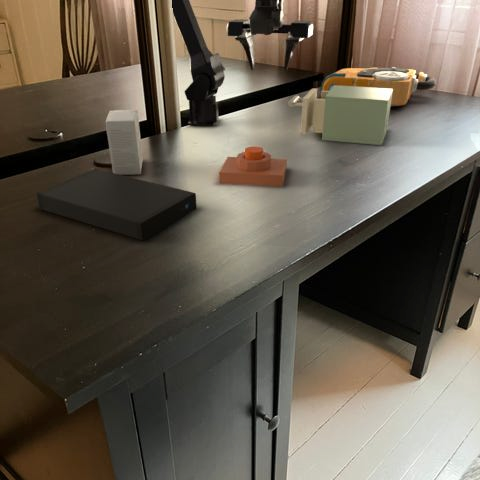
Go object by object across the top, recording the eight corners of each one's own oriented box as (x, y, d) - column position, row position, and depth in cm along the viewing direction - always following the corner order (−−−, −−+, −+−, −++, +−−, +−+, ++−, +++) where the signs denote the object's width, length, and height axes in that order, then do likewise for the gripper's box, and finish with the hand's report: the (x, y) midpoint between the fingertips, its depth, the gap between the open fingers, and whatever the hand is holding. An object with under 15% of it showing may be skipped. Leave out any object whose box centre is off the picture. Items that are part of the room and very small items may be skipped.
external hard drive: (98, 183, 102) (96, 168, 100) (197, 209, 92) (196, 192, 90) (40, 209, 92) (36, 193, 90) (143, 241, 82) (140, 223, 80)
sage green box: (321, 140, 123) (325, 96, 118) (330, 126, 132) (334, 85, 127) (381, 145, 120) (388, 100, 114) (386, 131, 129) (393, 88, 123)
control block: (219, 183, 102) (218, 162, 99) (227, 167, 109) (227, 147, 107) (282, 186, 100) (283, 165, 98) (286, 170, 107) (287, 150, 105)
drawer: (284, 132, 125) (285, 97, 121) (294, 120, 134) (296, 87, 129) (354, 138, 121) (358, 102, 117) (360, 125, 129) (364, 91, 125)
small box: (116, 162, 112) (109, 109, 106) (143, 161, 112) (137, 109, 106) (112, 175, 105) (104, 121, 99) (141, 174, 106) (134, 120, 100)
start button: (243, 161, 101) (243, 151, 100) (246, 154, 104) (246, 145, 103) (262, 161, 101) (262, 152, 100) (264, 155, 104) (264, 146, 103)
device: (336, 59, 162) (439, 64, 154) (333, 88, 167) (433, 94, 159) (320, 73, 144) (436, 79, 136) (318, 105, 149) (429, 113, 141)
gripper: (216, -6, 111) (219, 75, 120) (304, -5, 106) (300, 79, 115) (233, -10, 120) (235, 66, 129) (315, -9, 115) (311, 69, 124)
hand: (269, 70), depth 124 cm, fingers open, 8 cm apart
